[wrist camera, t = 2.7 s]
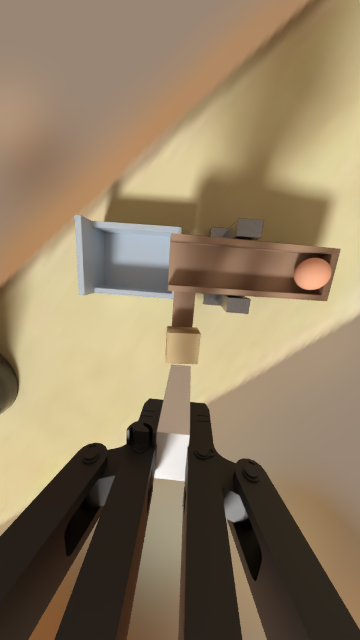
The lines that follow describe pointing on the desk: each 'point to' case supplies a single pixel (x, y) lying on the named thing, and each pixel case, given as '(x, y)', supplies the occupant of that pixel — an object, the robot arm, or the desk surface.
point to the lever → (231, 279)
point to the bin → (123, 258)
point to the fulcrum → (242, 231)
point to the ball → (312, 273)
